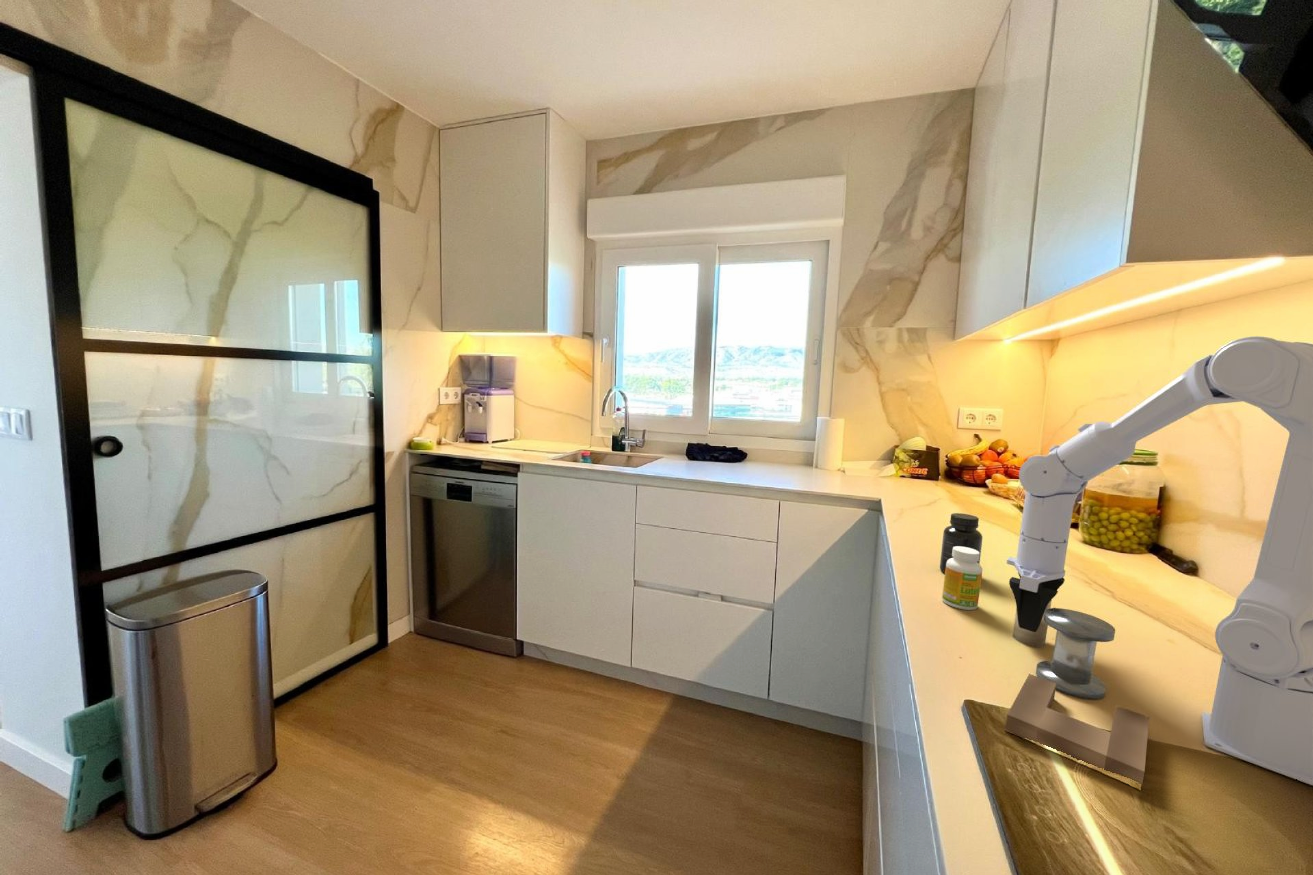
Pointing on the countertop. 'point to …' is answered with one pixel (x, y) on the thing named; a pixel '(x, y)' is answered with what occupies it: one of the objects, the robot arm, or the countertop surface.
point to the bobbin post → (1075, 652)
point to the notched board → (1080, 731)
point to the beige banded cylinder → (1029, 636)
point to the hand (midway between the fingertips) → (1030, 624)
